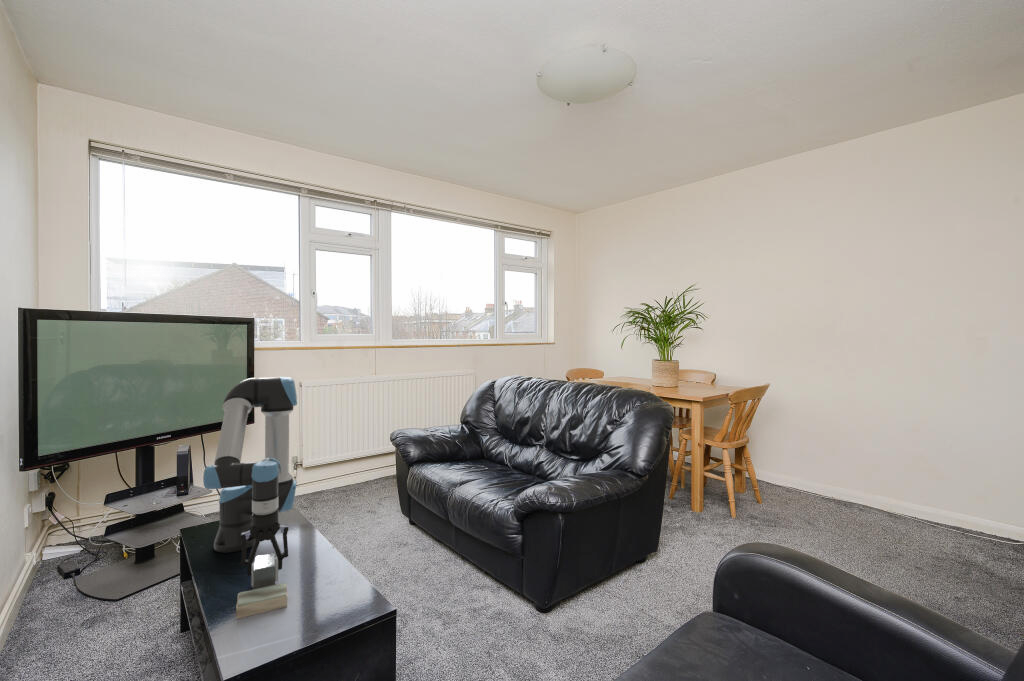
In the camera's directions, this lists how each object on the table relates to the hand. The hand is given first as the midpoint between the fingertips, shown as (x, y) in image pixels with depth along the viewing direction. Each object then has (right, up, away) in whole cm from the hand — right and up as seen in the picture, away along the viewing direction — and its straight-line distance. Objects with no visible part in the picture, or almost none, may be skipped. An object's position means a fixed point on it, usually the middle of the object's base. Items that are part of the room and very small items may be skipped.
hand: (265, 581), depth 146 cm
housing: (0, 0, 0) cm, 0 cm away
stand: (+5, -1, -10) cm, 12 cm away
